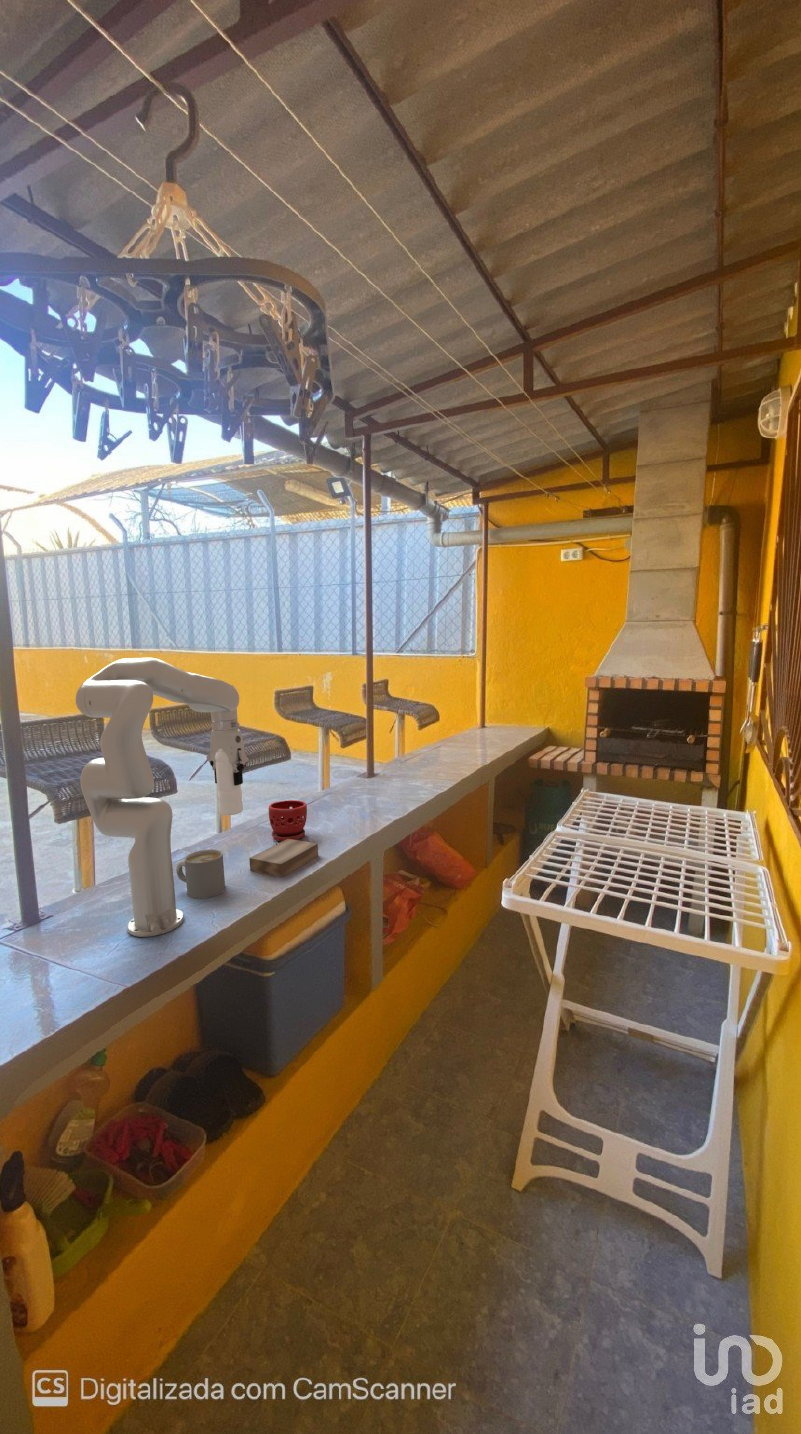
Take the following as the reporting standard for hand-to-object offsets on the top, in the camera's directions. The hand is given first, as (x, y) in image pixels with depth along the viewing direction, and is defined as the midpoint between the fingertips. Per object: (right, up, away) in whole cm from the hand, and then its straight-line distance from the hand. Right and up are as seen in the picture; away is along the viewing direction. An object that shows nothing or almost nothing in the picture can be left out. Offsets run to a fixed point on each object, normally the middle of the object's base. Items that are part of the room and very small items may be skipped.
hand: (229, 783), depth 171 cm
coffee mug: (-3, -28, -15) cm, 32 cm away
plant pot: (+13, -22, +26) cm, 37 cm away
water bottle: (0, -9, +1) cm, 9 cm away
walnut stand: (+17, -25, +2) cm, 30 cm away
